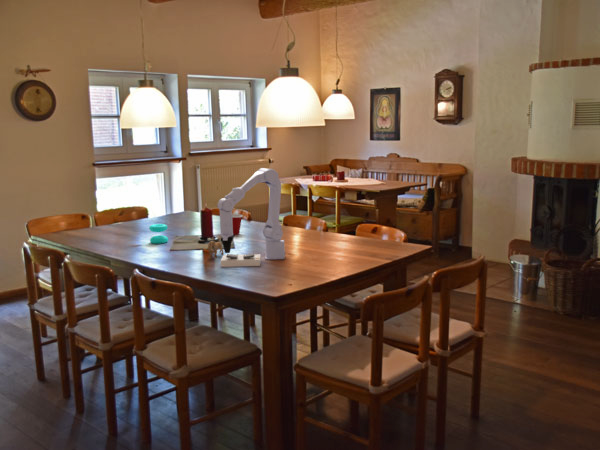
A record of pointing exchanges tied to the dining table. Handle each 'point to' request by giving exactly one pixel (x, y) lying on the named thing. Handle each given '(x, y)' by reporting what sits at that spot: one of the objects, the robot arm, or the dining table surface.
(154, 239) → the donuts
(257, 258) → the beige switch box
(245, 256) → the rocker
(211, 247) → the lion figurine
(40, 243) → the dining table surface
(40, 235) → the dining table surface
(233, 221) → the plastic cup
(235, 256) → the rocker
